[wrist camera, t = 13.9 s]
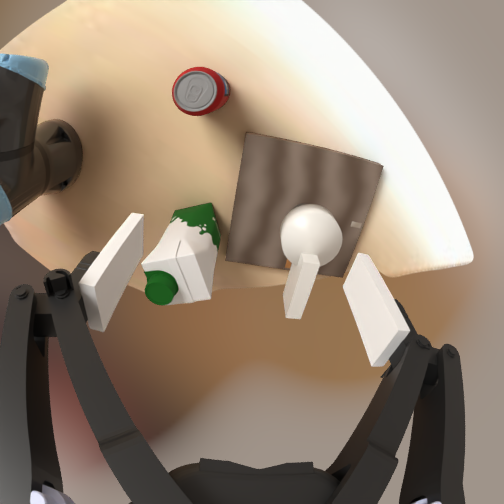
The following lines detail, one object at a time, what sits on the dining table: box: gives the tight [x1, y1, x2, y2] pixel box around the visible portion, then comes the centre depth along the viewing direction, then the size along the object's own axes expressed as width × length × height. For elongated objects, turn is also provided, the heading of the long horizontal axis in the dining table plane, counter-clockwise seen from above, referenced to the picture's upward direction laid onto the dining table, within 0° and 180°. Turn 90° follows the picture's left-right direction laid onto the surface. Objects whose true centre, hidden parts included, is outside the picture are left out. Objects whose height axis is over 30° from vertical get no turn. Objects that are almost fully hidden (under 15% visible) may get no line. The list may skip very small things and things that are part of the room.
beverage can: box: [172, 67, 230, 116], centre depth 35 cm, size 7×7×12 cm
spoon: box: [280, 204, 342, 319], centre depth 43 cm, size 18×9×6 cm, turn 171°
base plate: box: [225, 132, 383, 277], centre depth 50 cm, size 24×24×2 cm
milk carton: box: [141, 203, 221, 305], centre depth 44 cm, size 9×9×20 cm
